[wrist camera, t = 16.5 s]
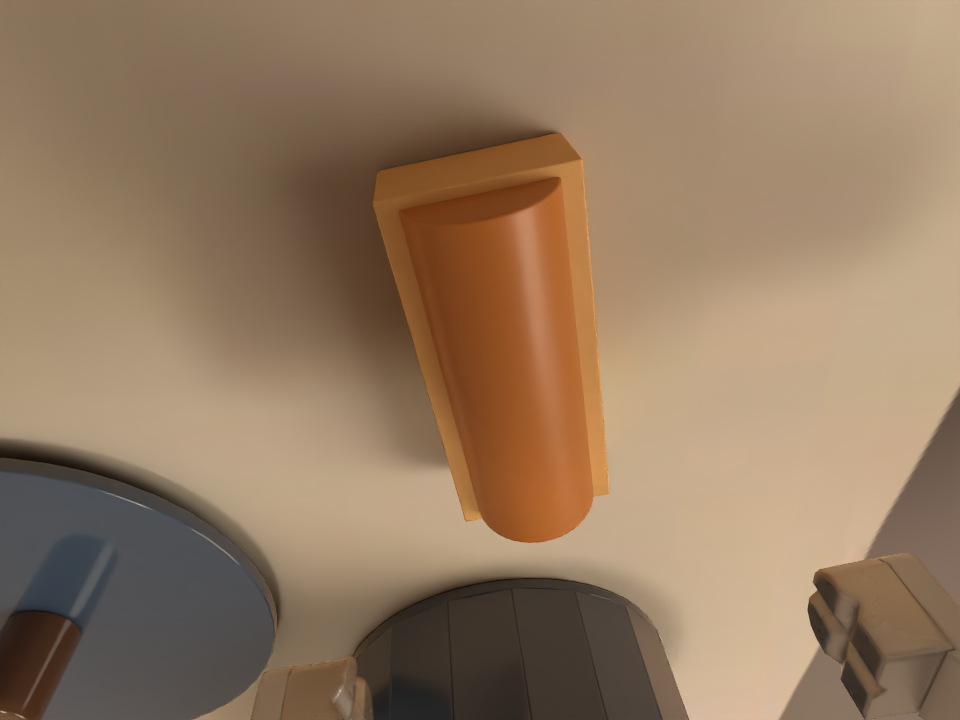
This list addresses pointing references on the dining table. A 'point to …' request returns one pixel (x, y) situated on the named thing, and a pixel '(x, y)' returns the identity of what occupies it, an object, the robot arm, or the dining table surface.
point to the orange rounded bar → (504, 327)
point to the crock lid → (120, 603)
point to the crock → (520, 657)
